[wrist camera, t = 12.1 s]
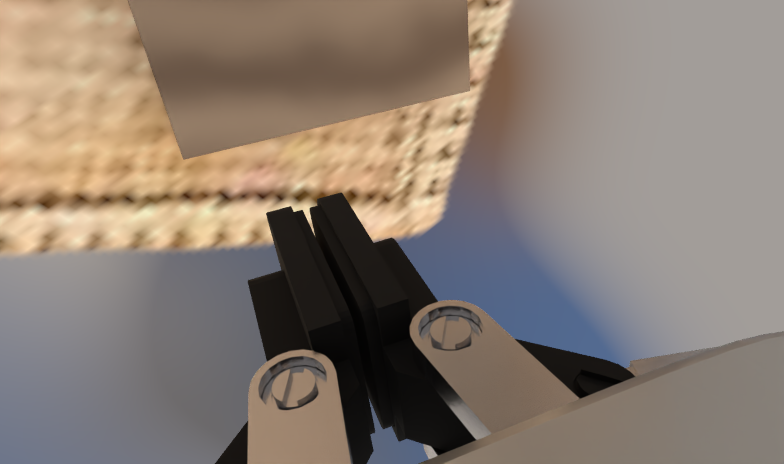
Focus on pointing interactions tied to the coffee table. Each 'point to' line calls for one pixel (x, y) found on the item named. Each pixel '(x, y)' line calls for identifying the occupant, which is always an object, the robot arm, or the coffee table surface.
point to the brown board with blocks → (296, 63)
